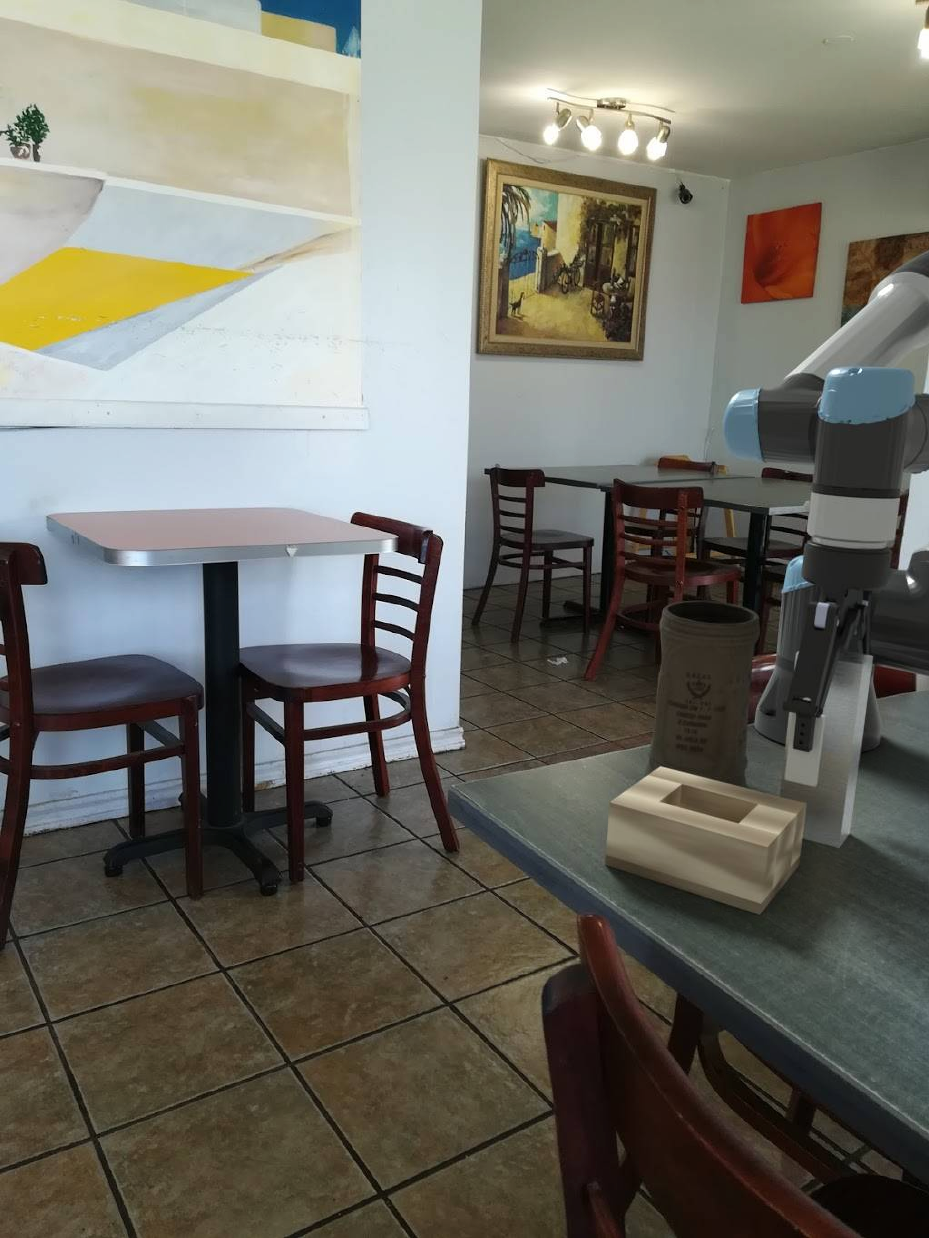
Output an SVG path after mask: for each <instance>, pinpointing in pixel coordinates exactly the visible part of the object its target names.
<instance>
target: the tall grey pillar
mask: <svg viewBox="0 0 929 1238" xmlns="http://www.w3.org/2000/svg"><path fill="white" fill-rule="evenodd" d="M798 653H799V651H798V652H797V653H796V658H795V665H796V661H797V657H798ZM872 661H873V656H871V655H865V654H859V653H853V652H847V651H846V652H845V653H842V654H840V656H839V659H838V662H837V665H836V669H835V672H834V675H833V679H832V682H831V685H830V689H829V692H828V695H827V699H826V702H825V705H824V708H823V714H822V715H826V717H825V725H824V733H823V741H822V749H821V757H820V765H819V773H818V781H817V785H816V786H815V787H813V786H809V785H805V784H801V783H797V782H793V781H789V780H785V770H786V762H787V753H788V745H789V736H790V728H791V719H792V712H789V719H788V728H787V736H786V744H784V745H785V747H784V756H783V765H782V771H781V772H782V773H781V782H780V789H779V797H783V798H787V799H791V800H795V801H799V802H803V803H806V804H807V805H806V813H805V821H804V830H803V838H802V840H803V839H804V840H807V841H811V842H815V843H819V844H822V845H826V846H830V847H833V848H837V849H840V848H841V846H842V845H843V843H844V842H845V841H846V839H847V838H848V837H849V835H850V834H851V833H850V832H851V827H852V825H851V824H852V818H853V810H854V803H855V795H856V788H857V780H858V774H859V773H858V772H859V765H860V759H861V753H862V752H861V744H862V737H863V729H864V721H865V714H866V706H867V699H868V691H869V684H870V676H871V669H872ZM794 669H795V666H794ZM803 700H809V701H811V700H810V699H809V698H804V699H803Z"/></svg>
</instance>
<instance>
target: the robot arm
mask: <svg viewBox="0 0 929 1238" xmlns="http://www.w3.org/2000/svg"><path fill="white" fill-rule="evenodd" d="M927 345H929V249H928V250H926V251H925V252H922V253H920V254H919V255H917V256H915V257H914V258H912V259H910V260H908V261H906V262H905V263H904V264H902V265H901V266H899V267H897V268H896V269H895V270H894V271H892V272H891V273H889V274H888V275H887V276H886V277H884V278H883V279H882V280H881V281H880V282H878V284H877V285H876V286H875V287H874V289H873V290H872V292H871V293H870V295H869V297H868V301H867V304H866V305H865V306H864V307H863V308H862V309H861V310H860V311H858V313H856V314H855V315H854V316H853V317H852V318H851V319H849V320H848V322H846V323H845V324H844V325H843V326H842V327H840V328H839V329H838V330H837V331H836V332H835V333H833V335H832V336H830V338H828V339H827V340H826V341H824V343H822V344H821V345H820V346H819V347H817V349H816V350H815V351H813V352H812V354H810V355H809V356H808V357H807V358H806V359H804V360H803V362H801V363H800V364H799V365H798V366H797V367H796V368H794V369H793V370H792V371H791V372H790V373H788V374H787V375H786V376H785V377H784V378H783V379H782V380H781V381H779V383H778V384H776V385H775V386H774V387H773V388H770V389H764V388H763V387H758V388H756V389H755V388H753V389H744V390H740V391H738V392H736V393H735V394H734V395H733V396H732V397H731V399H730V400H729V402H728V404H727V406H726V409H725V412H724V415H723V422H722V423H723V424H722V433H723V437H724V440H723V441H724V444H725V446H726V449H727V451H728V452H729V453H730V454H731V455H732V456H733V457H735V458H737V459H741V460H747V461H753V462H759V463H761V464H767V463H769V464H770V463H771V464H784V465H785V464H786V465H799V466H813V475H812V483H811V488H810V489H811V494H810V500H806V501H804V504H803V506H802V507H803V509H804V510H805V512H806V511H807V512H809V515H808V517H807V518H808V519H807V526H806V532H807V533H808V535H809V536H811V537H812V539H809V540H807V542H806V543H804V547H803V554H802V555H799V556H796V557H794V558H793V559H792V560H790V562H789V563H788V564H787V567H786V571H785V572H786V573H785V577H784V582H783V588H782V589H781V594H782V595H781V606H780V615H779V625H778V634H777V635H778V636H777V644H776V645H777V647H776V656H775V664H774V665H775V666H774V670H773V672H772V673H771V674H772V675H771V676H770V678H769V681H768V682H767V685H766V687H765V689H764V691H763V693H762V695H761V697H760V699H759V702H758V704H757V706H756V709H755V716H754V728H755V729H756V730H757V732H758V733H760V734H761V735H763V736H764V737H766V738H768V739H770V740H773V741H775V742H776V743H780V744H783V745H786V736H787V728H788V719H789V712H792V719H791V728H790V736H789V745H788V753H787V762H786V770H785V780H789V781H793V782H797V783H801V784H805V785H809V786H813V787H815V786H816V785H817V781H818V773H819V765H820V757H821V749H822V741H823V733H824V725H825V717H826V715H822V714H823V708H824V705H825V702H826V699H827V695H828V692H829V689H830V685H831V682H832V679H833V675H834V672H835V669H836V665H837V662H838V659H839V656H840V654H842V653H845V652H846V651H847V652H853V653H859V654H865V655H871V656H873V661H872V669H871V676H870V684H869V691H868V699H867V706H866V714H865V721H864V729H863V737H862V744H861V752H860V753H863V752H868V751H871V750H873V749H875V748H877V747H878V746H879V745H880V743H881V736H882V730H883V723H882V718H881V715H880V710H879V706H878V700H877V696H876V691H875V686H874V672H875V667H876V666H879V667H883V668H887V669H893V670H898V671H901V672H902V671H903V672H908V673H911V674H912V673H913V674H917V675H921V676H926V677H929V542H928V543H927V544H924V545H923V546H921V547H918V548H917V549H915V550H913V552H912V553H911V556H910V561H909V563H908V567H907V569H897V568H891V563H892V555H893V550H891V547H889V546H887V545H888V543H890V542H893V541H894V540H895V539H896V533H897V526H898V525H897V524H898V518H899V517H898V516H899V509H900V501H901V497H900V496H901V488H902V481H903V475H904V474H908V473H909V474H912V475H918V474H922V473H923V472H927V471H929V393H927V392H924V393H922V392H921V393H916V392H915V384H916V383H915V382H916V381H915V380H916V379H915V375H914V373H913V372H912V371H911V370H909V369H907V368H904V367H903V368H902V367H896V366H897V365H898V364H899V363H900V362H902V360H904V358H905V357H907V356H908V355H909V354H910V352H911V351H913V350H916V349H919V348H923V347H925V346H927ZM798 651H799V653H798V657H797V661H796V665H795V658H796V653H797V652H798ZM794 666H795V669H794ZM804 698H809V699H810V700H811V701H809V700H803V699H804Z"/></svg>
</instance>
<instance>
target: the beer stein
mask: <svg viewBox="0 0 929 1238" xmlns="http://www.w3.org/2000/svg"><path fill="white" fill-rule="evenodd" d="M658 629H659V632H660V633H659V634H660V646H661V664H660V667H659V668H660V671H659V672H658V675H657V676H658V677H657V678H658V679H657V689H656V705H655V707H656V708H655V715H654V726H653V734H652V739H651V740H652V741H651V743H650V745H649V747H648V750H647V756H648V763H647V764H646V768H645V770H644V773H643V774H644V776H643V778H645V777H646V776H647V775H649V774H650V773H652V772H653V771H654V770H656V769H657V768H659V767H660V766H661V767H665V768H669V769H673V770H677V771H681V772H685V773H688V774H692V775H696V776H700V777H704V778H708V779H712V780H716V781H720V782H724V783H728V784H732V785H736V786H740V787H744V788H747V787H748V785H747V778H746V773H745V772H746V771H747V767H748V762H749V760H748V757H747V756H748V755H747V737H748V725H749V724H748V721H749V707H750V706H749V705H750V696H751V695H750V694H751V684H752V673H753V664H754V663H753V662H754V652H755V647H756V646H755V645H756V642H758V640H759V638H760V635H761V628H760V616H759V615H758V614H757V613H756V612H755V611H754V610H752V609H749V608H747V607H744V606H741V605H738V604H733V603H727V602H722V601H714V600H713V601H711V600H688V601H687V600H685V601H684V600H683V601H678V602H674V603H671V604H667V605H666V606H665V607H664V608H663V609H662V613H661V618H660V621H659V628H658ZM747 789H748V788H747Z"/></svg>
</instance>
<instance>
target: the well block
mask: <svg viewBox="0 0 929 1238" xmlns="http://www.w3.org/2000/svg"><path fill="white" fill-rule="evenodd" d="M806 805H807V804H806V803H803V802H799V801H795V800H791V799H787V798H783V797H780V795H776V794H775V795H774V794H771V793H766V792H764V791H763V792H762V791H758V790H755V789H752V788H751V789H750V788H744V787H740V786H736V785H732V784H728V783H724V782H720V781H716V780H712V779H708V778H704V777H700V776H696V775H692V774H688V773H685V772H681V771H677V770H673V769H669V768H665V767H661V766H660V767H659V768H657V769H656V770H654V771H653V772H652V773H650V774H649V775H647V776H646V777H645V778H644V777H643V778H641V779H640V780H639V781H638V782H636V783H635V784H633V785H632V786H630V787H629V788H628V789H626V790H625V791H624V792H622V793H620V794H619V795H618V796H616V797H615V798H614V799H612V800H611V801H609V807H608V819H607V834H606V835H607V836H606V846H605V863H604V865H605V866H608V867H610V868H614V869H617V870H620V871H623V872H626V873H629V874H632V875H636V876H638V877H641V878H645V879H647V880H651V881H654V882H657V883H660V884H663V885H667V886H669V887H673V888H675V889H678V890H682V891H685V892H687V893H692V894H694V895H697V896H700V897H703V898H706V899H709V900H712V901H716V902H719V903H722V904H725V905H728V906H730V907H733V908H737V909H740V910H743V911H747V912H749V913H753V914H755V915H759V916H760V915H761V914H762V913H763V912H764V911H765V910H766V907H768V905H769V904H770V903H771V902H772V900H774V898H775V897H776V895H777V894H778V893H779V891H780V890H781V889H782V888H783V887H784V886H785V884H786V883H787V882H788V880H789V879H790V877H791V876H793V874H794V872H796V871H797V869H798V868H799V866H800V861H801V854H802V845H803V830H804V821H805V813H806Z"/></svg>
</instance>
